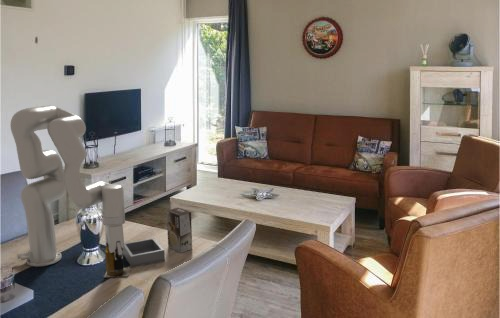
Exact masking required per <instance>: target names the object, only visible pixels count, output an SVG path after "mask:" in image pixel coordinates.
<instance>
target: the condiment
mask: <svg viewBox="0 0 500 318" xmlns="http://www.w3.org/2000/svg"><path fill="white" fill-rule="evenodd" d="M104 251H105V252H104V253H105V267H106V272H105V274H104V276H103V278H117V277H129V274H130V271H131V268H132V267H124V266H123V269H119V270H115V269H114V259H115V258H114V252H113V253H111V252H110V251H109V247H108V243H106V242H105V250H104ZM115 251H117V249H115ZM117 254H118V253H116V255H117ZM122 255H123V251H122ZM123 256H124V255H123Z"/></svg>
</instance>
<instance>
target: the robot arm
mask: <svg viewBox="0 0 500 318" xmlns="http://www.w3.org/2000/svg"><path fill="white" fill-rule="evenodd" d="M9 126H10V131H11V134H12V137H13V140H14V142H15V147H16V153H17V158H18V164H19V168H20V172H21V175H22V176H23V177H24V178H25V179H27V180H34V179H38V178H42V177H43V179H39V180H37V181H36V180H35V181H33V182H31V183H29V184H27V185H25V186H23V188H22V190H21V191H20V199H21V203H22V205H23V209H24V213H25V220H26V227H27V237H28V245H29V246H28V247H29V248H28V251H26V252H23V253H22V252H21V253H17V254H16V257H17V259H18V260H20V259H21V261H25V260H26V264H27V265H28V266H30V267H37V268H38V267H46V266H50V265H53V264H56V263H57V262H59V261H60V260H61V259H62V257H63V256H62V253H61V252H60V251H58V249H57V240H56V239H57V238H56V231H55V229H56V228H55V219H54V214H53V211H52V210H51V208H50V207H49V206H48V205H49V204H51V203H53V202H56V201H58V200H60V199H63V197H64V196H65V194H66V191H67V193H68V195H69V196H70V199H71V200H72V202H73V203H74V204H75V206H77V207H78V208H81V209H88V208H91V207H93V206H96V205H97V204H100V203H102V204H101V205H102V219H103V220H102V221H103V225H104V226H105V230H104V231H105V244H106V243H108V247H109V251H110V252H111V253H113V252H114V258H115V259H114V269H115V270H119V269H123V267H124V255H122V251H123V250H124V243H125V238H124V236H125V235H124V226H123V225H125V223H126V213H125V212H126V211H125V193H124V192H125V191H124V188H123V186H122V185H121V184H116V183H115V184H114V183H113V184H111V183H108V182H105V181H102V180H99V181H95V182H91V183H89V184H86V185H85V184H84V182H83V180H82V179H81V174H80V173H81V172H80V170H81V166H82V163H83V162H84V160H85V159H86V158H87V156H88V153H87V150H86V148H85V146H84V144H83V143H82V141H81V137H83V136H84V135H85V133H86V131H87V127H86V126H87V125H86V123H85V122H84V120H83V119H82V118H81V117H80V116H78V115H77V114H75V113H72V112H70V111H67V110H65V109H63V108H61V107H58V106H56V105H42V106H34V107H28V108H24V109H20V110H18V111H16V112H15V113H14V114H13V115H12V117H11V120H10V125H9ZM42 130H47V134H48V135H49V137H50V139H51V141H52V143H53V145H54V146H55V148H56V150H57V152H58V153H57V152H56V151H54V150H52V149H45V150H43V148H42V146H43V145H42V142H41V139H40V137H39V136H38V135H37V133H36V131H42ZM63 163H64V165H63ZM63 166H64V167H63ZM115 249H117V251H115ZM116 253H118V254H117V255H116Z"/></svg>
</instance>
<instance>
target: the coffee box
mask: <svg viewBox="0 0 500 318" xmlns="http://www.w3.org/2000/svg"><path fill="white" fill-rule="evenodd" d="M166 227H167V245H168V247H167V248H169V249H172V250H174V251H176V252H178V253H185V252H187V250H188V251H190V250H193V235H192V232H193V231H192V229H193V228H192V211H189V210H186V209H183V208H180V207H176V208H172V209H169V210H167V211H166Z"/></svg>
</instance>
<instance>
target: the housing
mask: <svg viewBox="0 0 500 318" xmlns="http://www.w3.org/2000/svg"><path fill="white" fill-rule="evenodd" d="M165 255H166V254H165V249H164V248H163V247H162V245H160V243H159V242H158V241H157V239H156V238H154V237H153V238H152V237H151V238H146V239H141V240H134V241H129V242H124V250H123V257H124V258H125V260H126V261H127V263H128V264H129V266H130V268H132V269H133V268H138V267H141V266H146V265H151V264H156V263H160V262H165V261H166V258H165V257H166V256H165Z"/></svg>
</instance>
